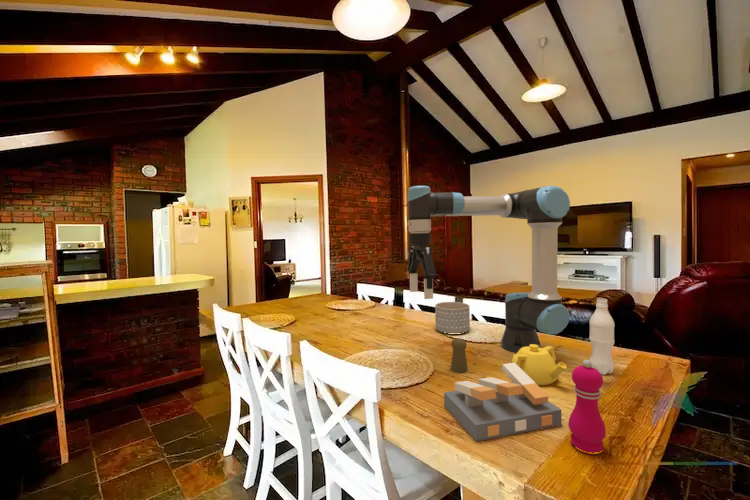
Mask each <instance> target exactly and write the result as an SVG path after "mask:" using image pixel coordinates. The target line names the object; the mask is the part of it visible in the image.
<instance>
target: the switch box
mask: <svg viewBox="0 0 750 500" xmlns="http://www.w3.org/2000/svg"><path fill="white" fill-rule="evenodd" d="M511 383H513V382H512V381H511ZM443 398H444V399H443V403H444V407H445V408H446V410H447V411H448V412H449V413H450V414H451V415H452V416H453V418H454V419H455V420H456V421H457V422H458V424H460V425H461V427H462V428H463V429H464V430H465V432H466V433H468V435H469V436H470V437H471V439H473V440H474V441H475V442H480V441H481V442H482V441H487V440H491V439H496V438H497V439H498V438H502V437H506V436H507V437H508V436H512V435H518V434H522V433H527V432H532V431H538V430H537V429H539V430H542V429H541V428H544V429H548V428H547V427H549V428H553V427H552V426H554V427H559V426H562V409H561V408H560V407H558V406H557V405H555V404H553V403H552V402H551V401H549V400H548V402H547V403H542V404H536V405H533V403H532V402H531V401H530V400H529V399H528V398H527V397H526V396H525V395H524V394H519V395H513V396H507V395H504V394H501V393H498V392H496V398H494V399H488V400H479V399H477V398H474V397H472V396H469V395H467V394H464V393H462V392H459V391H456V390H451V391H445V392H444V393H443ZM558 425H559V426H558Z"/></svg>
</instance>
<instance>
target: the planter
mask: <svg viewBox="0 0 750 500" xmlns="http://www.w3.org/2000/svg"><path fill="white" fill-rule="evenodd" d="M434 308H435V309H434V312H435V317H434V318H435V330H437V331H439V332H440V333H442V332H446V333H463V332H465V333H467V332H469V331H470V330H471V327H470V326H471V322H470V321H471V320H470V316H471V315H470V314H471V313H470V305H469V304H468V303H465V302H460V301H442V302H438V303H436V304H435V306H434ZM442 334H443V333H442ZM463 334H464V333H463Z"/></svg>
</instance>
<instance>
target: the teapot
mask: <svg viewBox="0 0 750 500" xmlns="http://www.w3.org/2000/svg"><path fill="white" fill-rule="evenodd" d="M515 353H516V354H513V357H512V359H511V363H516V364H517V365H518V366H519V367H520V368H521V369H522V370H523V371H524V372H525V373H526V374H527V375H528V376H529V377H530V378H531V379H532V380H533V381H534V382H535V383H536V384H537V385H538V386H548V385H551V384H553V383H554V382H556V381H557V379H558V378H559V375H560V374H561V373H562V372H564V371H565V370H566V369H567V368H568V367H567V365H566V363H564V362H563V361H560V362H558V363H556V360H557V357H556V352H555V348H554V346H551V345H546V346H545V347H541V348H539V346H538V345H535V344H531V345H529V346H527V347H522V348H521V349H520V350H519V351H518V352H515Z"/></svg>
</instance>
